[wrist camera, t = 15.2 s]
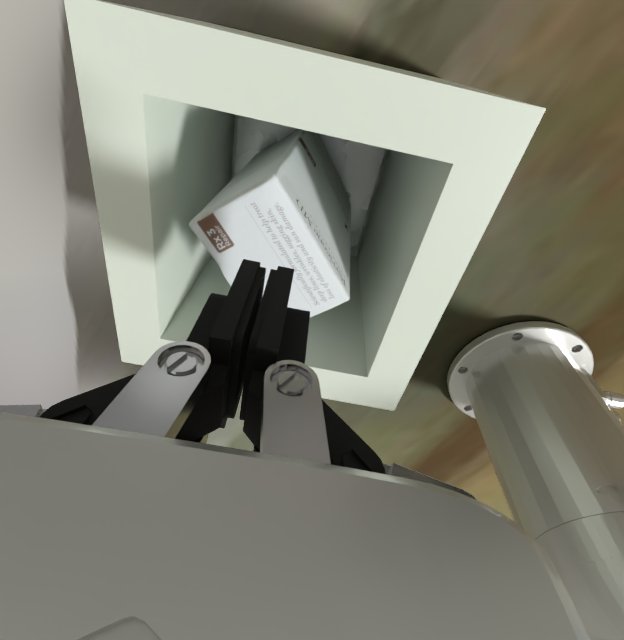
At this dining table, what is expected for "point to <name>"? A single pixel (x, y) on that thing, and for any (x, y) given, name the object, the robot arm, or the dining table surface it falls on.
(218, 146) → the holder
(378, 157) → the thin grey square tile
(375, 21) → the dining table surface
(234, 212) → the skincare box
